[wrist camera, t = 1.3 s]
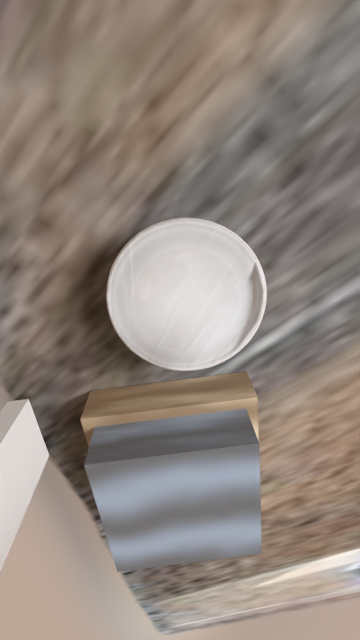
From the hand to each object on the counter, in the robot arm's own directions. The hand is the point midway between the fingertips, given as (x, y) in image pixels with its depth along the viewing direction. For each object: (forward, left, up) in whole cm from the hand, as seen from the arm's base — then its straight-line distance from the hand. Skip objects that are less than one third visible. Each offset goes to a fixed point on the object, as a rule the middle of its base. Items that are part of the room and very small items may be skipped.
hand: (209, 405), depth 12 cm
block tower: (+17, -2, -16) cm, 23 cm away
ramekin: (0, 0, -16) cm, 16 cm away
